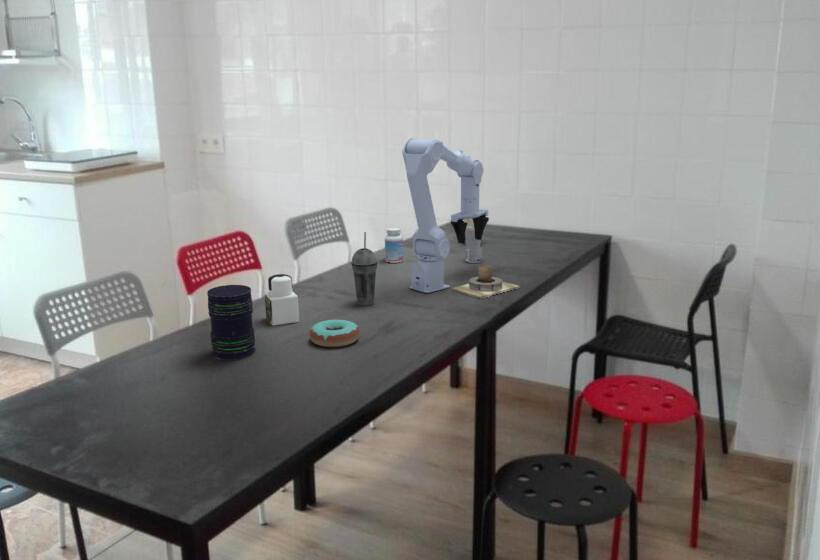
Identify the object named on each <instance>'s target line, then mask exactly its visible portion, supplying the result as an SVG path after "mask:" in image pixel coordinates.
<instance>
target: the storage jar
mask: <svg viewBox="0 0 820 560" xmlns="http://www.w3.org/2000/svg"><path fill="white" fill-rule="evenodd" d="M206 295H207V309H208V311H207V313H208V315H209V318H210V326H211V327H210V328H211V331H210V335H209V336H210V343H211V344H210V345H211V349H212V357H213V358H214V359H217V360H222V361H237V360H242V359H243V360H244V359H247V358H250V357H252V356H253V355H255V353H256V347H255V345H256V343H255V342H256V335H255V333H256V331H255V327H253V326H254V325H253V316H252V315H253V312H254V311H253V310H254V308H253V299H252V288H251V287H250V286H247V285H243V284H226V285H219V286H215V287H212V288H210V289H208V290H207V293H206Z"/></svg>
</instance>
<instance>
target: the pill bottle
mask: <svg viewBox="0 0 820 560" xmlns="http://www.w3.org/2000/svg"><path fill="white" fill-rule="evenodd" d="M386 234H387V235H386V236H385V237H384V255H385V256H384V259H385V262H386V263H388V262H390V263H389V264H400V263H402V262H404V240H403V239H404V238H403V236H402V235H401V228H400V227H390V228H386ZM399 262H400V263H399Z"/></svg>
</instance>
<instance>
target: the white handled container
mask: <svg viewBox="0 0 820 560" xmlns="http://www.w3.org/2000/svg"><path fill="white" fill-rule="evenodd" d="M267 280H268V281H267V284H268V291H266V292H264V303H265V318H266V320H267V321H268V323H270V325H272V326H273V327H274V326H279V325H280V326H281V325H288V324H294V323H299V322H300V313H299V310H300V309H299V296H298V295H297V294H296V293H295V292H294V291H293V290H294V289H293V277H292V276H291V275H289V274H284V273H279V274H273V275H271V276H269V277H268V278H267Z"/></svg>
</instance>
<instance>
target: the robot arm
mask: <svg viewBox="0 0 820 560" xmlns="http://www.w3.org/2000/svg"><path fill="white" fill-rule="evenodd" d="M401 152H402V158H403V161H404V165H405V171H406V178H407V183H408V188H409V192H410V196H411V200H412V206H413V211H414V215H415V219H416V223H417V228H418V229H416V230H415V232H413V234H412V240H413V244H412V249H413V252H414V254H415V255H416V258H417V259H418V260H417V261H415V262H413V263H412V265H411V266H410V280H411V281H410V284H411V285H410V286H409V289H412V290H415V291H418V292H421V293H425V294H430V293H433V292H437V291H441V290H446V289H449V288H450V287H451V286H450V285H449V284H445V283H444V282H445V279H444V276H445V275H444V274H445V270H444V269H445V267H444V266H445V264H444V263H445V262H444V261H445V259H446V258H447V257H448V256H449V254H450V251H451V244H450V241H449V239H448V238H447V236H446V232H445V231H444V230H443V229H442V228H440V227H439V225H438V224H437V219H436V214H435V209H434V206H433V205H434V204H433V200H432V195H431V191H430V186H429V181H428V174H431V173H432V172H433V171H434V169H435V168H436V166H437V165H438V163H439V162H440V160H442V161H443V162H446V166H447V167H448V168H449V169H450V170H452V171H454V172H456V174H457V176H458V178H460V212H457V213H453V214H451V215H450V224H451V226H452V228H453V230H454V233H455V235H456V236H455V237H456V240H457V243H458V244H462V245H463V244H465V234H466V227H467V224H468V223H466V222H464V220H465V219H471V218H472V219H473V223H474V230H475V239H477V240H481V239H482V240H483V235H484V230H485V228H486V226H487V224H488V222H489V220H490V219H489V217H488V216H489V209H485V208H481V209H482V210H479V209H480V184H481V183H482V177H483V175H484V165H483V162H481V161H480V160H478V159H472V157H471V155H467V154H465V153H464V151H463V150H461V149H456V150H453V151H452V150H451V149H449V148H448V147H447V146H446V145H444V143H443V141H440V140H439V139H435V138H434V139H426V138H425V139H424V138H422V139H421V138H419V139H418V138H412V137H410V138H408V139H407V140H406V141H405V143H404V145H403V148H402V151H401Z"/></svg>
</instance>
